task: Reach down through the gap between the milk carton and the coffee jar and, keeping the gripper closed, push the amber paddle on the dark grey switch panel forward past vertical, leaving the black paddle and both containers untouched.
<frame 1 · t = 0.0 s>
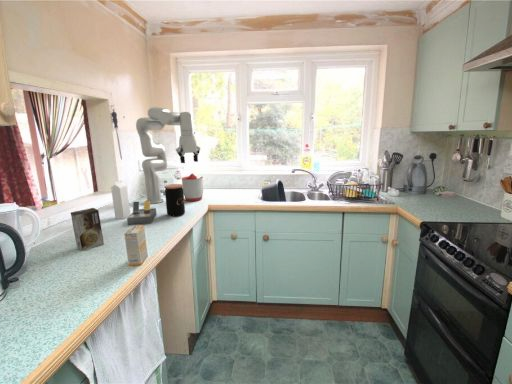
hand: (189, 162, 162), 31 cm above the worktop, tool pointing down, fingers open, 9 cm apart
citrus juicer: (194, 199, 202), on the worktop
paddle amber: (147, 206, 155), point 7 cm above the worktop, hinge at -30.0°
milk: (123, 217, 160), on the worktop
paddle black: (136, 207, 154), point 7 cm above the worktop, hinge at -30.0°
coffee box: (90, 246, 118), on the worktop
switch panel: (143, 219, 154), on the worktop
coffee jar: (176, 214, 164), on the worktop
supplement box: (138, 261, 102), on the worktop
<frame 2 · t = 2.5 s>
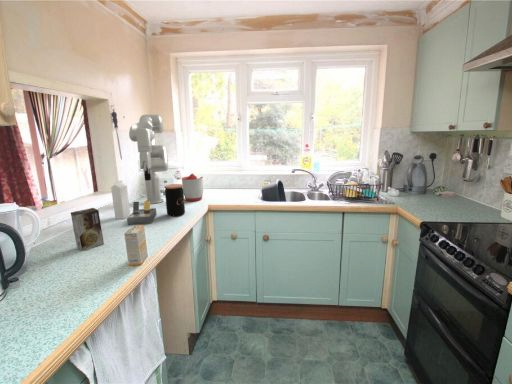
hand: (148, 180, 162), 21 cm above the worktop, tool pointing down, fingers closed
nothing on the worktop moved.
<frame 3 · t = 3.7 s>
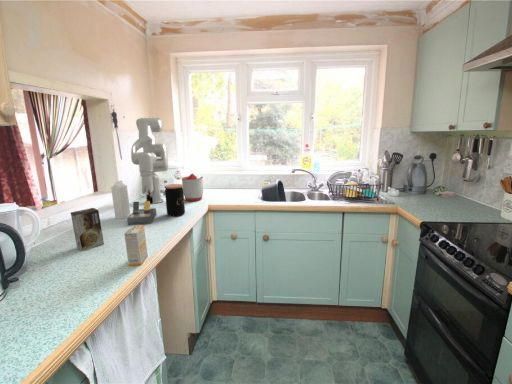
hand: (150, 203, 164), 7 cm above the worktop, tool pointing down, fingers closed
nothing on the worktop moved.
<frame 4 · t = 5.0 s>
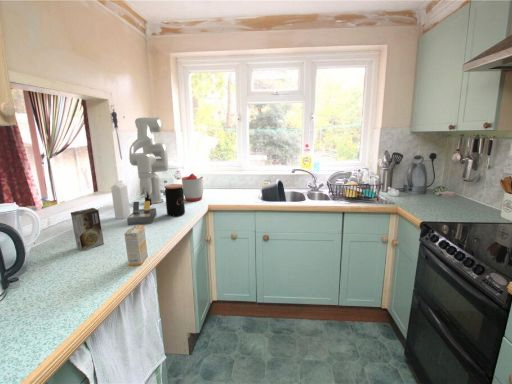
hand: (148, 205, 159), 7 cm above the worktop, tool pointing down, fingers closed
paddle amber: (147, 206, 155), point 7 cm above the worktop, hinge at -30.0°, touching gripper
everything else where it was.
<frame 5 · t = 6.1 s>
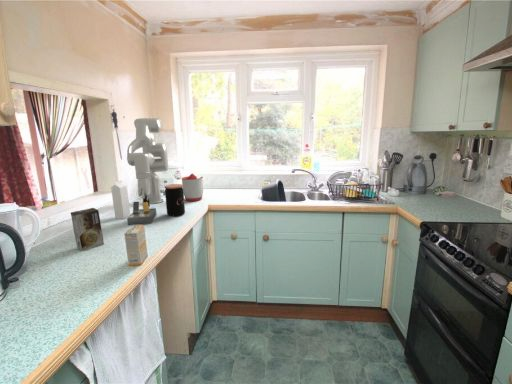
hand: (146, 207, 154), 7 cm above the worktop, tool pointing down, fingers closed
paddle amber: (145, 207, 152), point 7 cm above the worktop, hinge at 19.7°, touching gripper
everything else where it was.
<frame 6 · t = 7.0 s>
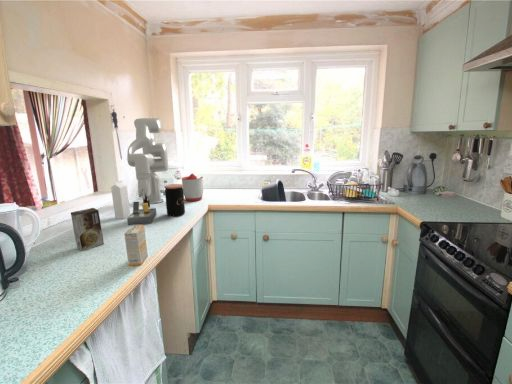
hand: (146, 207, 155), 7 cm above the worktop, tool pointing down, fingers closed
paddle amber: (145, 208, 152), point 7 cm above the worktop, hinge at 27.0°
everything else where it was.
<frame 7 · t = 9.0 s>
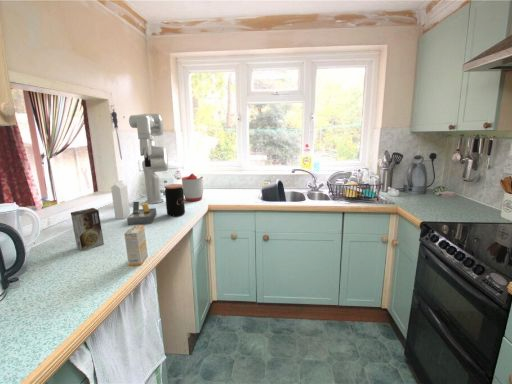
hand: (148, 166, 166), 29 cm above the worktop, tool pointing down, fingers closed
paddle amber: (145, 208, 152), point 7 cm above the worktop, hinge at 27.3°
everything else where it was.
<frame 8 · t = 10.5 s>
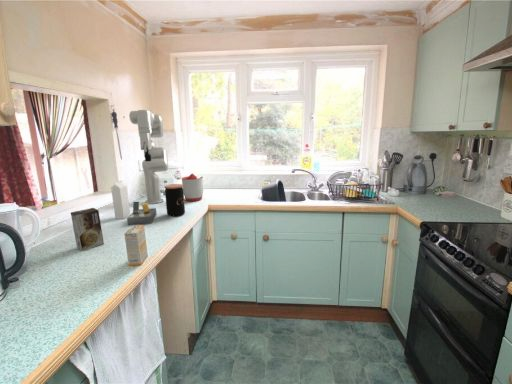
hand: (148, 161, 167), 32 cm above the worktop, tool pointing down, fingers closed
nothing on the worktop moved.
at the end: paddle amber at +27° (first picture: -30°); paddle black at -30° (first picture: -30°); milk moved 0.2 cm from its start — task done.
